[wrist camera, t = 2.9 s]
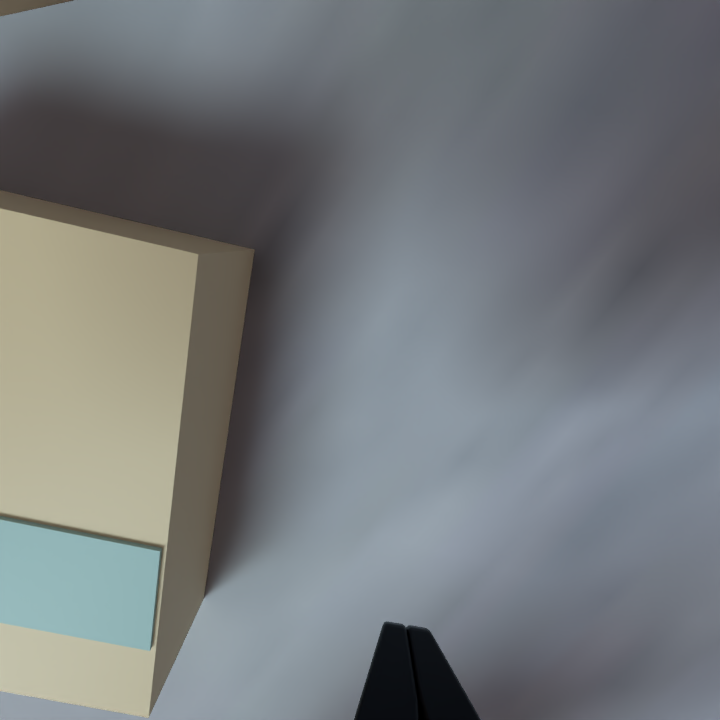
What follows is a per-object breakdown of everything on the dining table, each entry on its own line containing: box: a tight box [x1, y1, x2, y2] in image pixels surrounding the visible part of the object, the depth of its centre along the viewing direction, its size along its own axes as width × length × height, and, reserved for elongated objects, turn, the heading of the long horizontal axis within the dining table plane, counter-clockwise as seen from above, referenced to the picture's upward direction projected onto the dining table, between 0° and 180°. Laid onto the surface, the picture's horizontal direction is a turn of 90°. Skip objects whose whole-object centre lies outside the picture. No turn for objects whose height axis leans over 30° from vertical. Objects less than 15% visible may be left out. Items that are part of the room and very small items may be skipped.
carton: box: [0, 190, 255, 718], centre depth 11 cm, size 8×12×4 cm, turn 167°
